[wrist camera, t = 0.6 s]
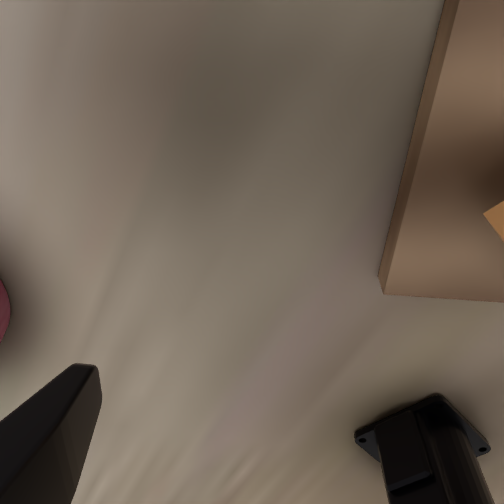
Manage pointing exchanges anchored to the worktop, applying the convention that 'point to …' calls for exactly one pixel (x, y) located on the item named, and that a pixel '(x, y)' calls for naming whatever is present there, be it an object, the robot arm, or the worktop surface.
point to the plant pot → (4, 310)
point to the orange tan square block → (496, 219)
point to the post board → (454, 166)
